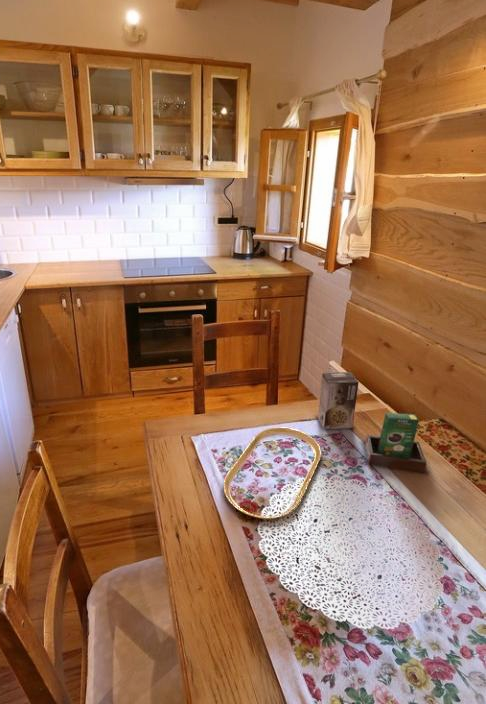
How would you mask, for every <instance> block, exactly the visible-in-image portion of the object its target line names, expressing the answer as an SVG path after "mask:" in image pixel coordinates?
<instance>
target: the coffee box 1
mask: <svg viewBox="0 0 486 704" xmlns="http://www.w3.org/2000/svg"><path fill="white" fill-rule="evenodd" d="M359 383H360V382H359V381H358V380H357V378H356V377H355V375H354V374H353V373H352V372H351V371H347V372H346V371H345V372H344V371H343V372H322V375H321V383H320V393H319V401H318V412H317V419H318V421H319V423H320V425H321V427H322V429H324V430H331V429H332V430H333V429H353V427H354V419H355V411H356V405H357V396H358V391H359V390H358V389H359Z"/></svg>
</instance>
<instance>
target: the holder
mask: <svg viewBox="0 0 486 704" xmlns="http://www.w3.org/2000/svg"><path fill="white" fill-rule="evenodd" d="M379 441H380V435H372V434H366V438H365V443H364V446H365V451H366V454H367V455H366V457H367V462H368V465H372V466H378V467H384V468H385V467H386V468H392V469H397V470H403V471H404V470H405V471H410V472H418V473H423V474H424V473H425V472H426V467H427V464H428V463H427V460H426V458H425V455H424V451H423V449H422V447H421V444H420V441H415V440H414V443H413V447H412V451H411V455H410V458H403V457H397V456H390V455H383V454H377V451H378V446H379Z"/></svg>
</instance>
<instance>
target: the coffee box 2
mask: <svg viewBox="0 0 486 704" xmlns="http://www.w3.org/2000/svg"><path fill="white" fill-rule="evenodd" d="M419 423H420V419H419V418H418V417H417V415H416V414H415V413H410V414H409V413H397V412H396V413H393V412H385V414H384V417H383V421H382V428H381V432H380V435H379V437H380V441H379V446H378V451H377V454H383V455H390V456H397V457H403V458H410V455H411V451H412V447H413V443H414V441H415V438H416V434H417V430H418V426H419Z"/></svg>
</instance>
